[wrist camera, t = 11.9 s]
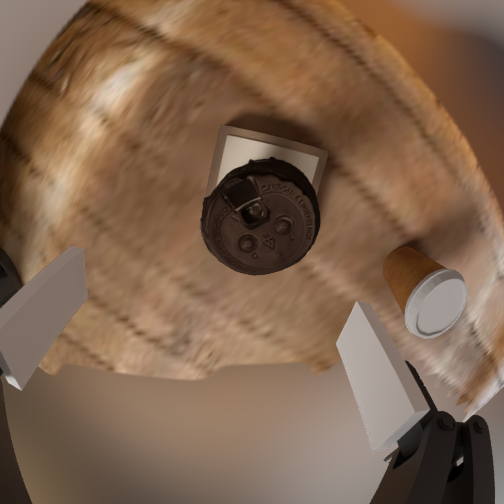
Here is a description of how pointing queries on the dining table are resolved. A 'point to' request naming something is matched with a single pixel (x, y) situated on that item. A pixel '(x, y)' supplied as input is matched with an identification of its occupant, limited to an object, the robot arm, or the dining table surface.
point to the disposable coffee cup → (425, 291)
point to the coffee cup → (261, 217)
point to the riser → (262, 154)
